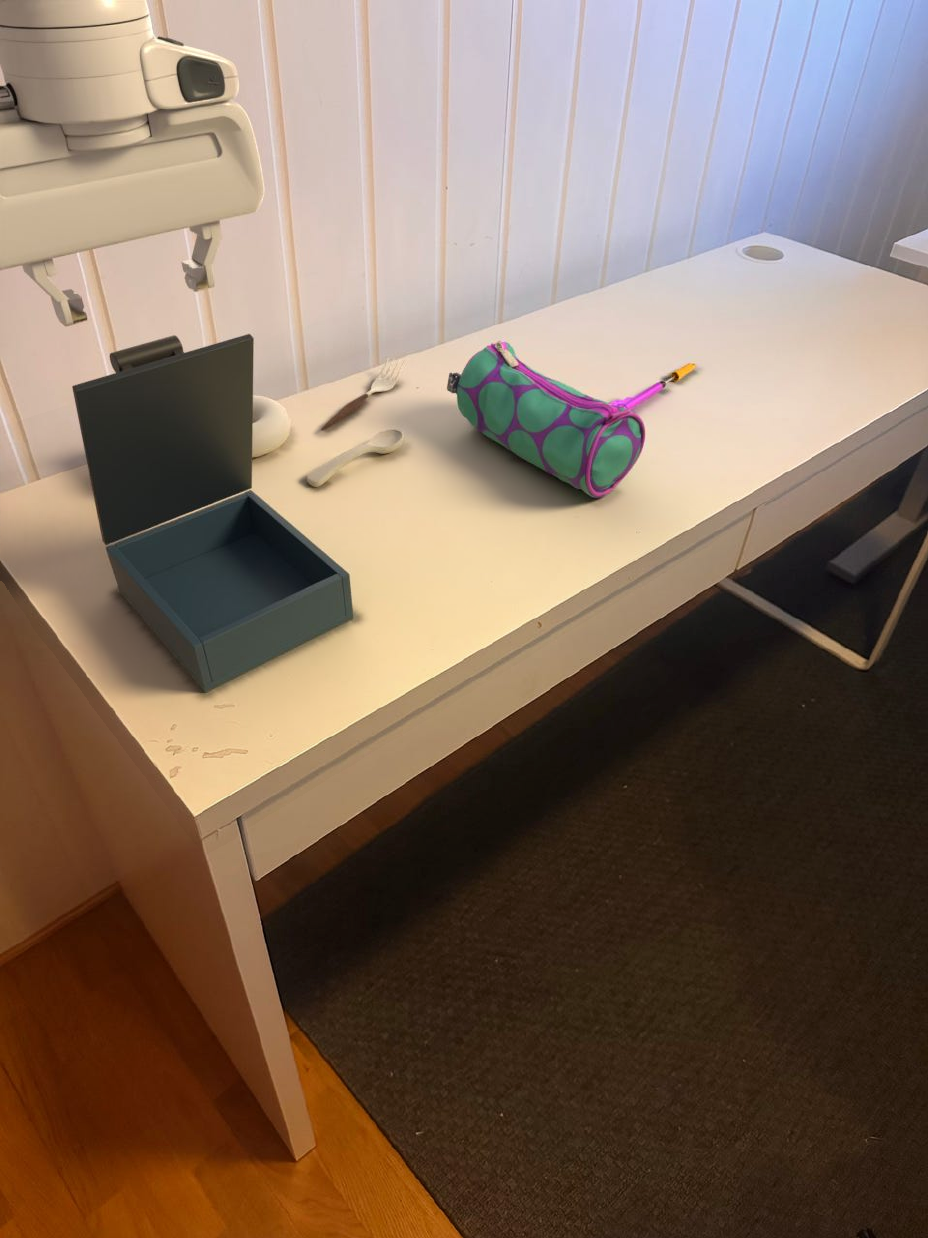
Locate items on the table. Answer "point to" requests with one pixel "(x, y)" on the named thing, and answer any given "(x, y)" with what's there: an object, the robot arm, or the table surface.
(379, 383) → the fork
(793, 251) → the table surface
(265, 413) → the donut
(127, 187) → the robot arm
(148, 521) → the lid
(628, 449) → the pencil case
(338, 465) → the spoon
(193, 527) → the teal shallow open box
